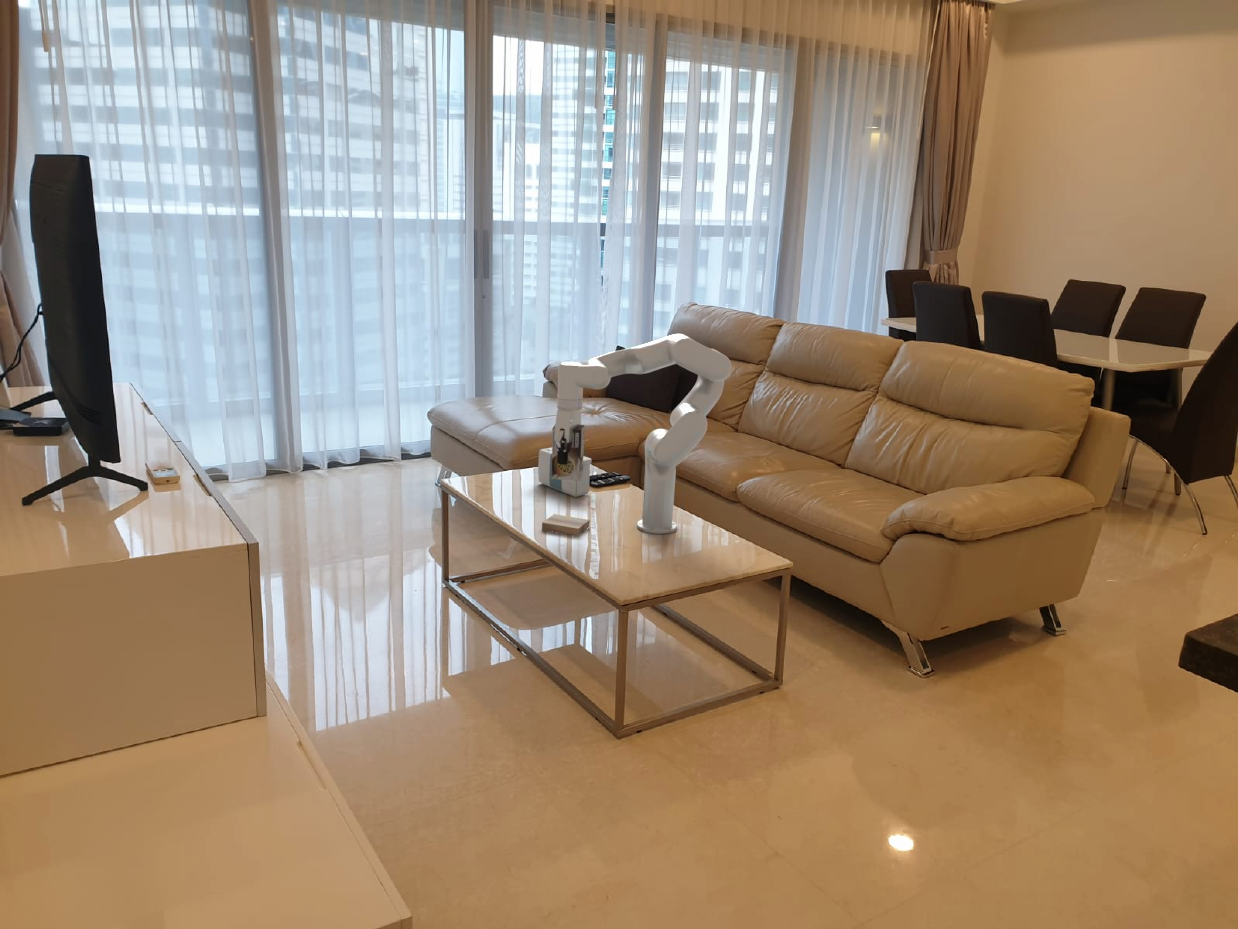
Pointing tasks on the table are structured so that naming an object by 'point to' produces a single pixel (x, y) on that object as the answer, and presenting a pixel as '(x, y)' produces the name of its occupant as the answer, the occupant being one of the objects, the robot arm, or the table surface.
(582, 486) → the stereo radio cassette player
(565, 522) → the flat wooden block
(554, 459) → the coffee box
